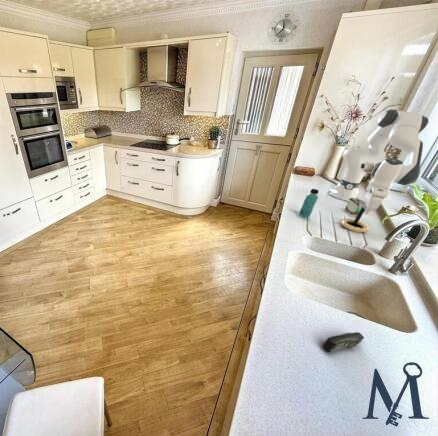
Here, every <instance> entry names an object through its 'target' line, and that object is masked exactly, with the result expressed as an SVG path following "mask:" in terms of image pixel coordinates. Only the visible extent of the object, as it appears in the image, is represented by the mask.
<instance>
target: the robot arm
mask: <svg viewBox="0 0 438 436" xmlns="http://www.w3.org/2000/svg"><path fill="white" fill-rule="evenodd" d="M428 124H429V118H428V117H427V116H424V115H421V114H420V113H418V112H410V111H404V110H397V109H387V110H386V111H384V112H383V113H382V114H380V116H379V118H378V120H377V128H376V129H375V130H374V131H373V132H372V134H370V136H369V137H368V138H367V144H368V145H369V146H367V147H349V148H347V149H345V151H344V152H343V155H342V159H343V161H344V162H345V164H346V169H345V172H344V175H343V177H342V178H341V180H340V181H339V183H337V182H335V181H334V180H331V179H329V178H328V177H327V174H326V175H325V174H324V175H325V176H324V175H323V176H322V177H323V179H324V180H327V181H329V182H331V183H333V184H335V185H334V186H333V188H330V189H329V190H330V192H329V193H328V195H329V196H332V197H334V198H335V199H338V200H342V201H347V202H348V201H349V198H350V197H351V198H356V199H358V198H357V196H358V194H359V192H360V189H359V187H360V186H361V182H362V180H363V178H364V176H365V173H366V172H365V170H364V169H363V168H362V164H364V165H374V167H373V169H372V171H371V172H370V176H371V177H372V178H371V180H370V182H369V184H368V185H367V187H366V189H365V190H366V193H365V194H364V196H363V199H364V202H365V203H364V205H363V209H365V211H364V213H363V215H369V213H370V212H371V211H376V210H378V208H379V207H380V206H381V204H382V203H383V201H384V199H387V197H388V196H389V191H390V190H391V188H392V187H393V184H397V185H401V186H409V185H411V184H414V183H416V182H417V181H418V179H419V178H420V174H421V161H422V155H423V150H424V149H423V148H424V142H423V141H422V140H420V138H419V133H421V132H423V130H425V129H426V127H427V125H428ZM388 144H390V145H391V146H392V147H394V148H395V149H398V150H399V151H400V150H401V151H403V152H404V153H406V154H407V155H408V160H407V165H405V164H404V162H403V160H400V159H397V158H386V157H387V154H386V152H385V148H386V147H387V146H388Z"/></svg>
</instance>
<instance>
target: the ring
mask: <svg viewBox="0 0 438 436" xmlns="http://www.w3.org/2000/svg"><path fill="white" fill-rule="evenodd" d="M354 220H355V219H354V218H343V219H341V220H340V224H341V225H342V226H344V227H346V228H348V229H347V230H350V231H353V232H356V233H361V232H364V233H367V232H369V231H370V226H369V225H368V224H366V223H365V222H363V221H361V220H359V221H358V223H357V225H359V226H361V227H363V228H357V227H353V226H351V225H349V224H347V223H346V222H349V223H353V222H354ZM346 228H345V229H346Z"/></svg>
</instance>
